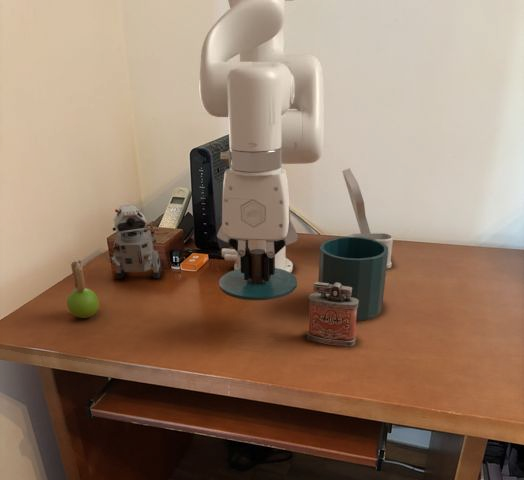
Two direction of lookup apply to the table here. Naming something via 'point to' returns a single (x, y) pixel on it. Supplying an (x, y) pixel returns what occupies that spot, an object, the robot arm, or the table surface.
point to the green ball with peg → (81, 295)
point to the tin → (356, 270)
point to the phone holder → (360, 215)
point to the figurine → (134, 243)
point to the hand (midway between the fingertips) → (258, 276)
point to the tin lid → (257, 281)
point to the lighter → (332, 314)
